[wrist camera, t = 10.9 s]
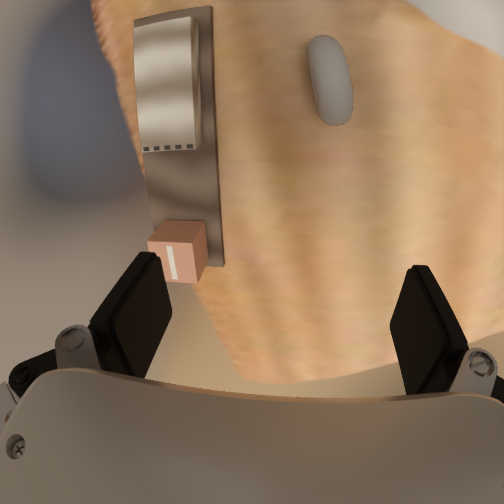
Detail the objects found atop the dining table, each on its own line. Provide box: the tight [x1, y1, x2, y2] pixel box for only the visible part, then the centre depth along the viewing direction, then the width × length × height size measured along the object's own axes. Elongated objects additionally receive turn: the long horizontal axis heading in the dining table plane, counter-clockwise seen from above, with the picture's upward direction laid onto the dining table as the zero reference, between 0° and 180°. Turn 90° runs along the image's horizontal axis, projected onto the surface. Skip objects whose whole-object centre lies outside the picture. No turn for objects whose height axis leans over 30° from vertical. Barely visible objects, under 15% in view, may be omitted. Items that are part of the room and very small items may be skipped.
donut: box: [307, 35, 353, 126], centre depth 26 cm, size 10×3×10 cm, turn 11°
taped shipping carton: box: [147, 220, 209, 284], centre depth 40 cm, size 6×6×6 cm
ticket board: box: [133, 6, 225, 267], centre depth 35 cm, size 36×10×4 cm, turn 1°
